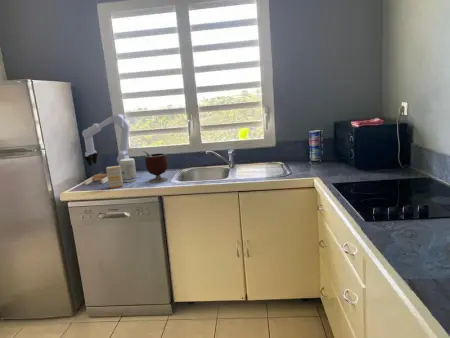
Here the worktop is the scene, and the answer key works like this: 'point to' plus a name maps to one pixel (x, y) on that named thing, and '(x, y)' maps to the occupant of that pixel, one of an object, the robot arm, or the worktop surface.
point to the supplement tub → (128, 170)
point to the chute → (93, 180)
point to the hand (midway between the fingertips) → (92, 164)
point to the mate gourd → (156, 166)
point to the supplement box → (114, 176)
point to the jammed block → (99, 177)
